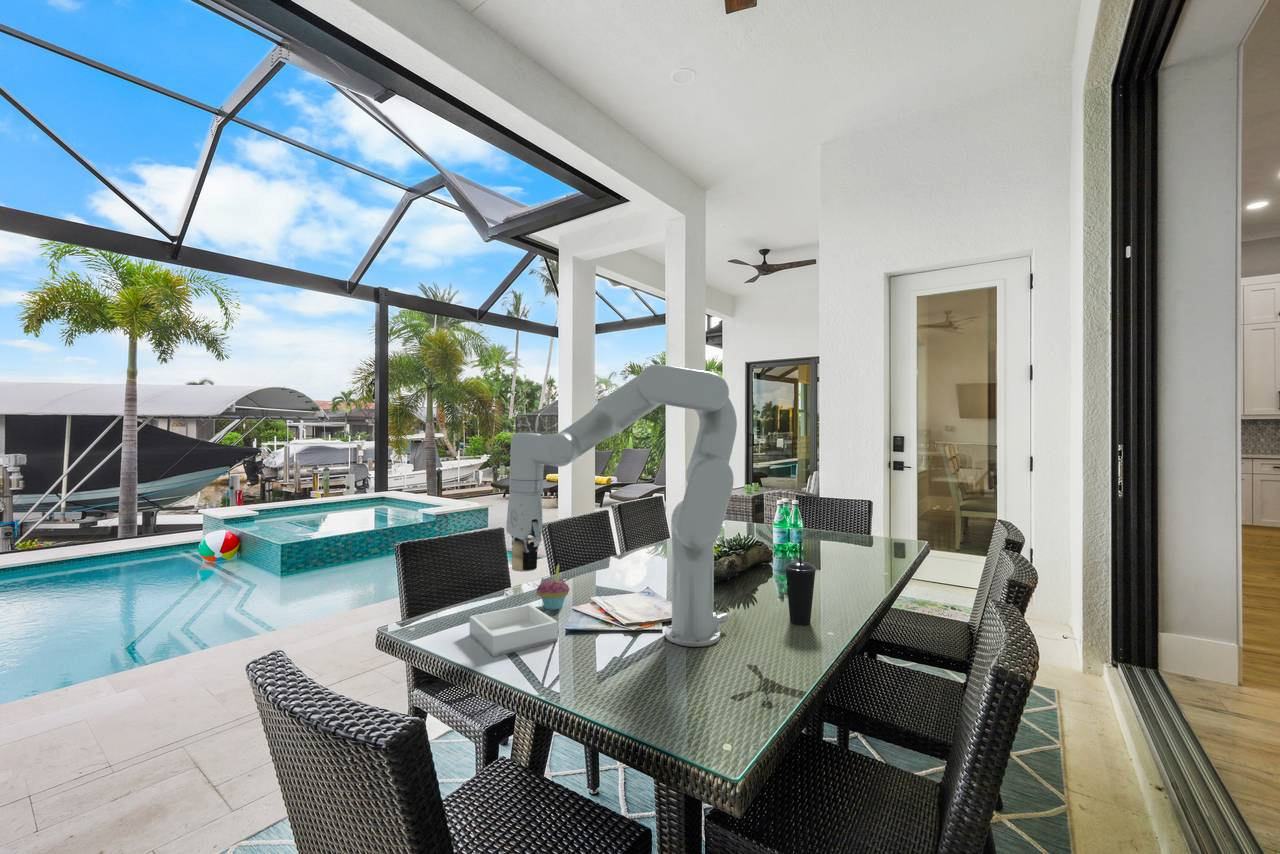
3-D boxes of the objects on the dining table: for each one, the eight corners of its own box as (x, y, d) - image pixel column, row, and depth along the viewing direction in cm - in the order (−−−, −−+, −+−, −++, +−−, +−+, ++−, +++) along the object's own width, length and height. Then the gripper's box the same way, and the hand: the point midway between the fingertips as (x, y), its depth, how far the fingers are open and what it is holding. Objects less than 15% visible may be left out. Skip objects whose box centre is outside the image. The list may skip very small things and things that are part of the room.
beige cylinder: (530, 564, 131) (530, 538, 131) (540, 569, 127) (540, 543, 127) (508, 567, 128) (508, 541, 128) (517, 572, 123) (518, 545, 123)
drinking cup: (782, 625, 136) (782, 543, 136) (786, 614, 143) (786, 536, 143) (814, 629, 133) (815, 545, 133) (817, 618, 140) (817, 539, 140)
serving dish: (529, 621, 138) (529, 603, 138) (557, 640, 126) (557, 621, 125) (469, 634, 129) (469, 616, 129) (493, 657, 117) (493, 636, 117)
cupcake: (575, 605, 150) (575, 560, 150) (554, 614, 143) (554, 567, 143) (551, 599, 154) (551, 556, 154) (529, 608, 147) (529, 563, 147)
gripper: (496, 483, 132) (494, 559, 132) (526, 492, 118) (523, 577, 118) (526, 482, 136) (524, 556, 136) (558, 490, 122) (556, 573, 122)
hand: (524, 565), depth 127 cm, fingers closed on beige cylinder, 5 cm apart
